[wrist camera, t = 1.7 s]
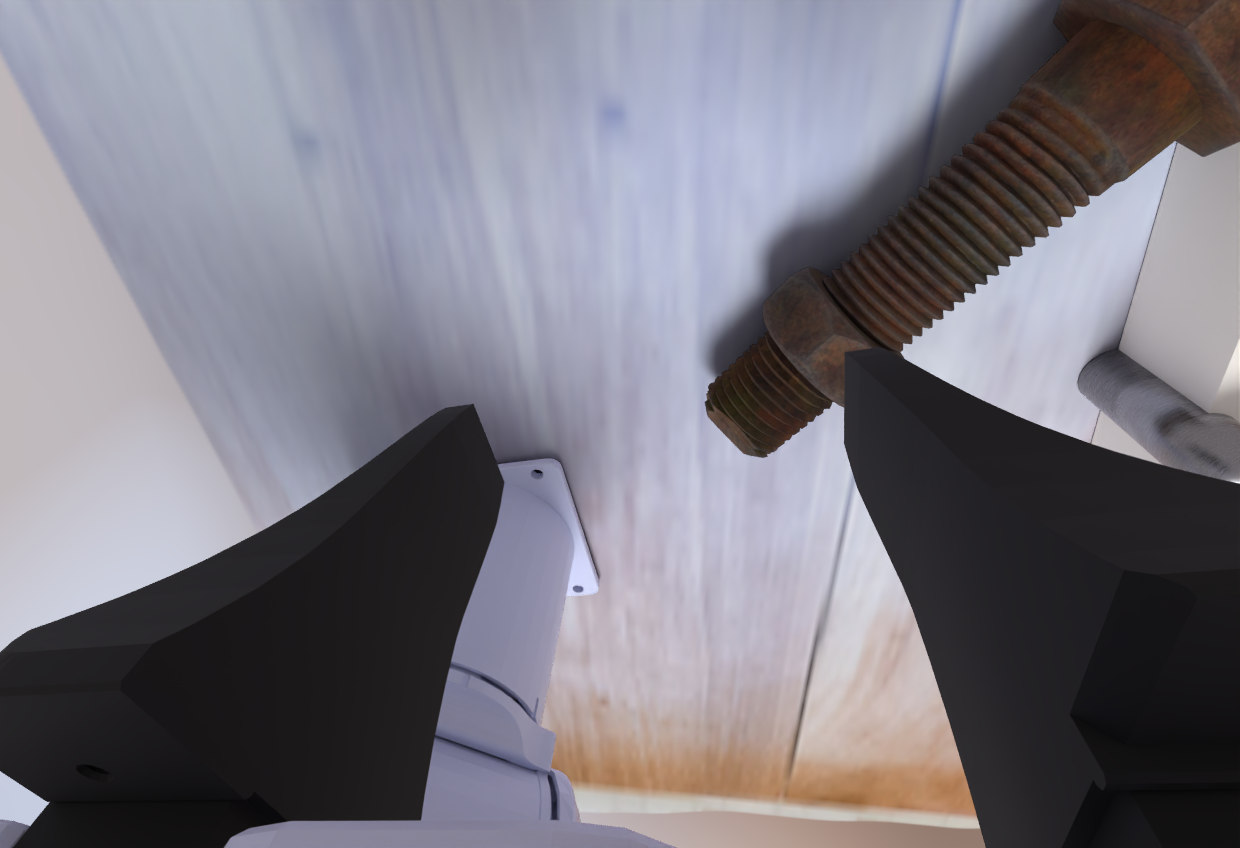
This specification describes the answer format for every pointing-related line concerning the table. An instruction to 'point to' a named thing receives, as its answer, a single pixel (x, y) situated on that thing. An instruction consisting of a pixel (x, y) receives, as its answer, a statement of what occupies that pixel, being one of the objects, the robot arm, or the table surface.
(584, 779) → the table surface
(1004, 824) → the robot arm
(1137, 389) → the bar
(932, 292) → the bolt
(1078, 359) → the table surface
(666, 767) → the table surface
